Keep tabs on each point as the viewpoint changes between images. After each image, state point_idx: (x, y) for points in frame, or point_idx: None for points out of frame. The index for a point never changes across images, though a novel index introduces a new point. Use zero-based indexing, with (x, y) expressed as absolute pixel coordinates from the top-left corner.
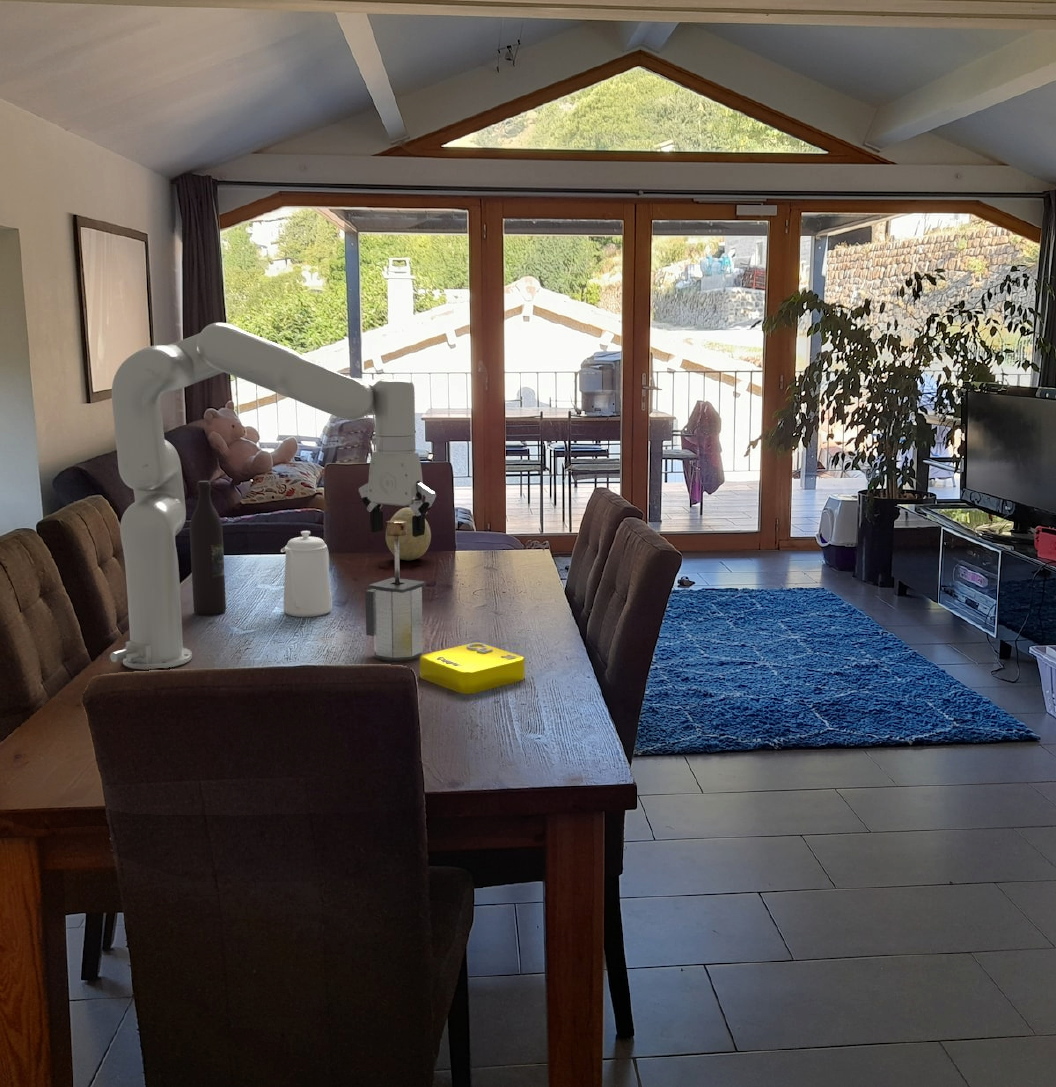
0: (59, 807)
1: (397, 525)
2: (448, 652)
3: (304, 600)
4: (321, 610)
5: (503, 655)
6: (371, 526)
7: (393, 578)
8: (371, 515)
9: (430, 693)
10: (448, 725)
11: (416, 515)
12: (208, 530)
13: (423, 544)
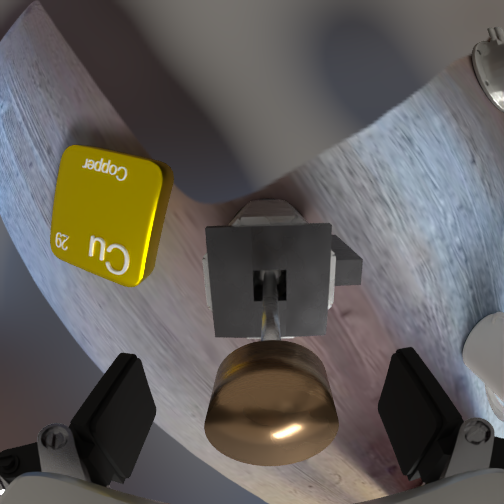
0: None
1: (223, 392)
2: (132, 211)
3: (491, 329)
4: (469, 340)
5: (70, 244)
6: (420, 362)
7: (316, 327)
8: (446, 404)
9: (116, 118)
10: (59, 64)
11: (66, 429)
12: None
13: None
